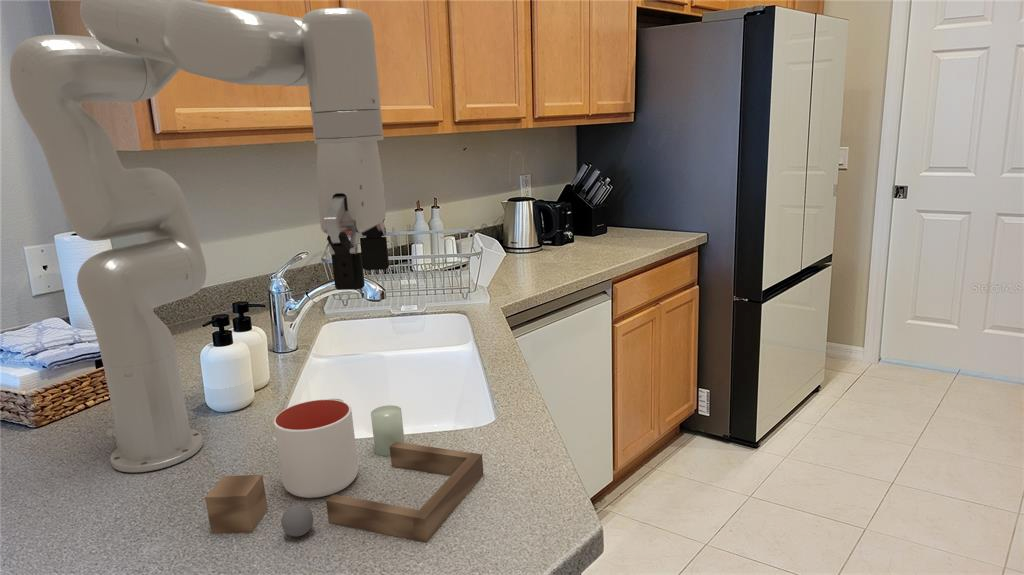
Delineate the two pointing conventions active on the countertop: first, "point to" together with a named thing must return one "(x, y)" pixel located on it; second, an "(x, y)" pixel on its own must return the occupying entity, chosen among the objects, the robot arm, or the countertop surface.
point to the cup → (316, 447)
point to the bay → (408, 520)
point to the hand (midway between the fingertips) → (363, 278)
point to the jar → (386, 428)
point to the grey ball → (297, 520)
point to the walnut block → (236, 504)
